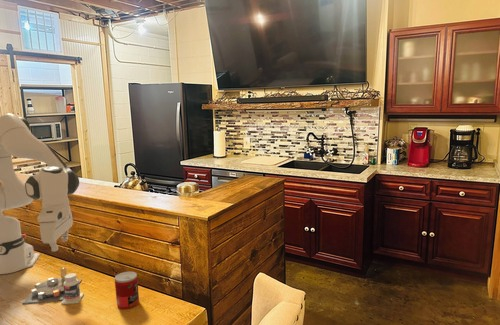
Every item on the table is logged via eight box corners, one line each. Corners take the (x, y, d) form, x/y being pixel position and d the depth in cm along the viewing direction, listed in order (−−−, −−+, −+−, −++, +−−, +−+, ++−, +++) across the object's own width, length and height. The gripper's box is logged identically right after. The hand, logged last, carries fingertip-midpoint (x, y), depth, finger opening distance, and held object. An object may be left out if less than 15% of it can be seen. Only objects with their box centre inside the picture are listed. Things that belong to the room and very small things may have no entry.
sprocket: (29, 288, 142) (27, 267, 141) (70, 277, 151) (67, 257, 150) (34, 303, 130) (31, 280, 129) (77, 290, 139) (75, 268, 138)
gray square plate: (41, 283, 148) (41, 282, 148) (83, 280, 150) (82, 278, 150) (22, 304, 132) (22, 302, 132) (68, 300, 134) (68, 298, 134)
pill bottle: (63, 302, 131) (60, 279, 130) (66, 295, 136) (64, 273, 135) (78, 299, 133) (76, 277, 131) (81, 292, 138) (79, 271, 136)
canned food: (132, 310, 126) (130, 281, 124) (112, 308, 127) (109, 280, 126) (143, 299, 133) (141, 271, 131) (124, 297, 135) (121, 270, 133)
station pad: (67, 296, 137) (67, 294, 137) (83, 294, 138) (83, 293, 137) (61, 304, 131) (61, 302, 131) (78, 303, 132) (78, 301, 132)
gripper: (58, 203, 140) (62, 236, 142) (34, 219, 120) (39, 257, 122) (75, 202, 140) (78, 235, 143) (54, 218, 120) (58, 256, 123)
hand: (60, 245), depth 132 cm, fingers open, 8 cm apart
